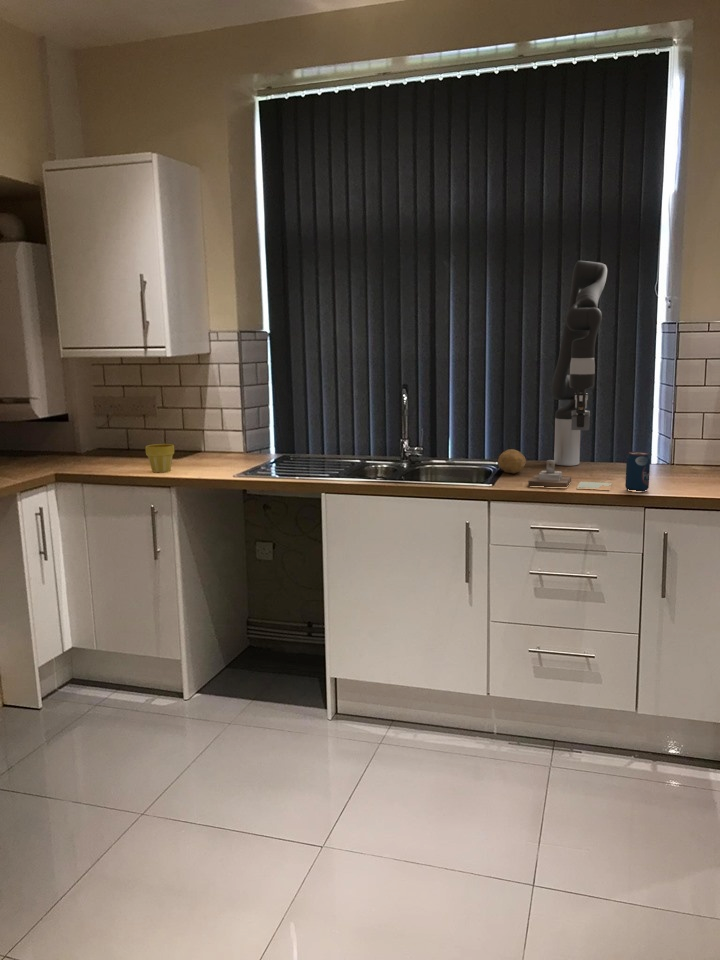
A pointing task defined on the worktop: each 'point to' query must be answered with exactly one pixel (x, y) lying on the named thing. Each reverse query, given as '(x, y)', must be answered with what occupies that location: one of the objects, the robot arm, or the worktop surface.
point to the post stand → (550, 477)
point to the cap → (586, 421)
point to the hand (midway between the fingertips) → (580, 425)
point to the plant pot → (160, 456)
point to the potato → (511, 461)
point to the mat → (592, 484)
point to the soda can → (637, 471)
